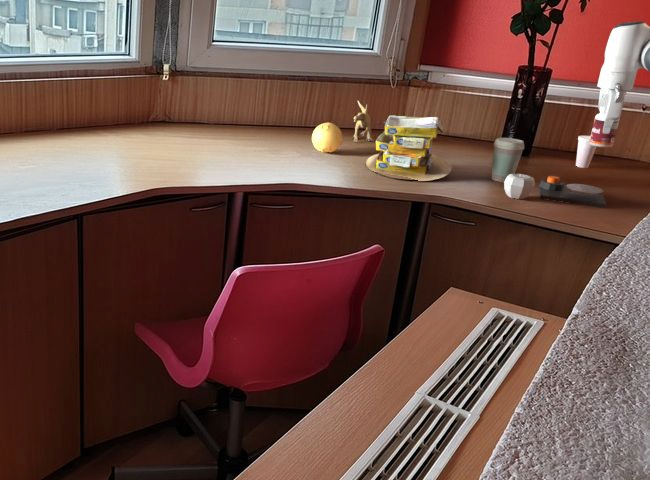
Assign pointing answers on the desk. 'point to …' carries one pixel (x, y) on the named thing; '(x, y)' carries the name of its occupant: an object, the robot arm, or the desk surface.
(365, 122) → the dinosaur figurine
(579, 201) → the scale
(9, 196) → the desk surface
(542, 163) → the desk surface
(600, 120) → the pill bottle
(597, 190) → the scale pan
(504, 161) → the coffee cup
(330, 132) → the stress ball
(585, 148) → the smoothie
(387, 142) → the stacked yellow boxes
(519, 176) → the white faceted lump
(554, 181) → the tare button
